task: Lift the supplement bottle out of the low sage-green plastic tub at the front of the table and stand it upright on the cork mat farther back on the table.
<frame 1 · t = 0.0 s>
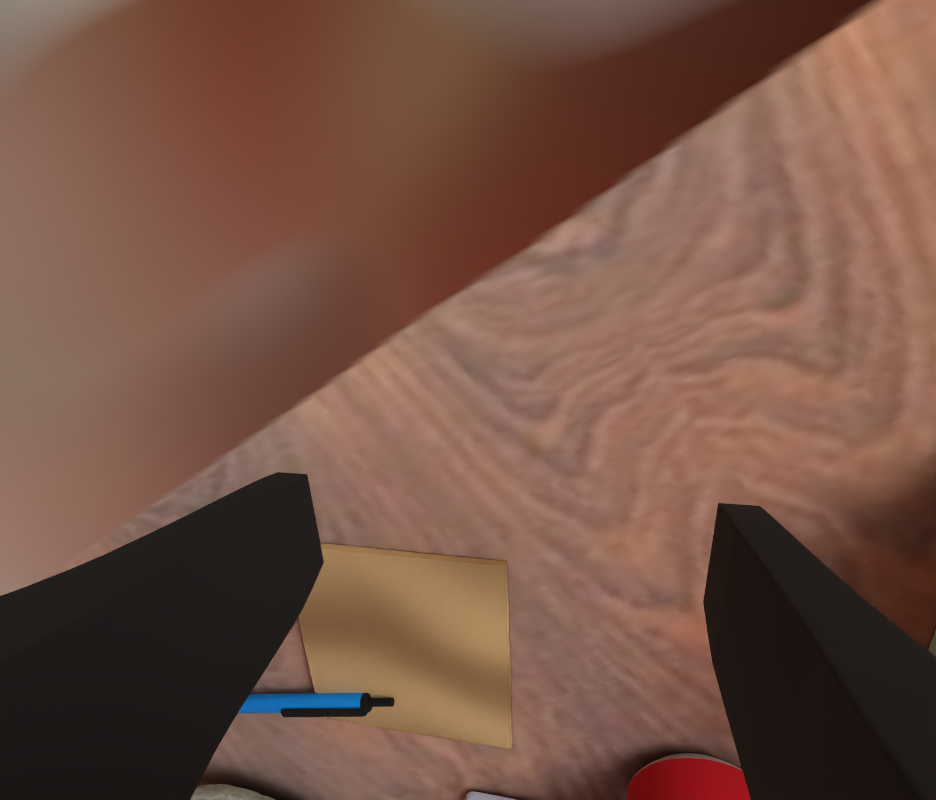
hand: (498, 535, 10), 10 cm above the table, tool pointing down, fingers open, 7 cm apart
pen: (237, 693, 30), on the table
cork mat: (404, 644, 26), on the table
beverage can: (695, 782, 26), on the table
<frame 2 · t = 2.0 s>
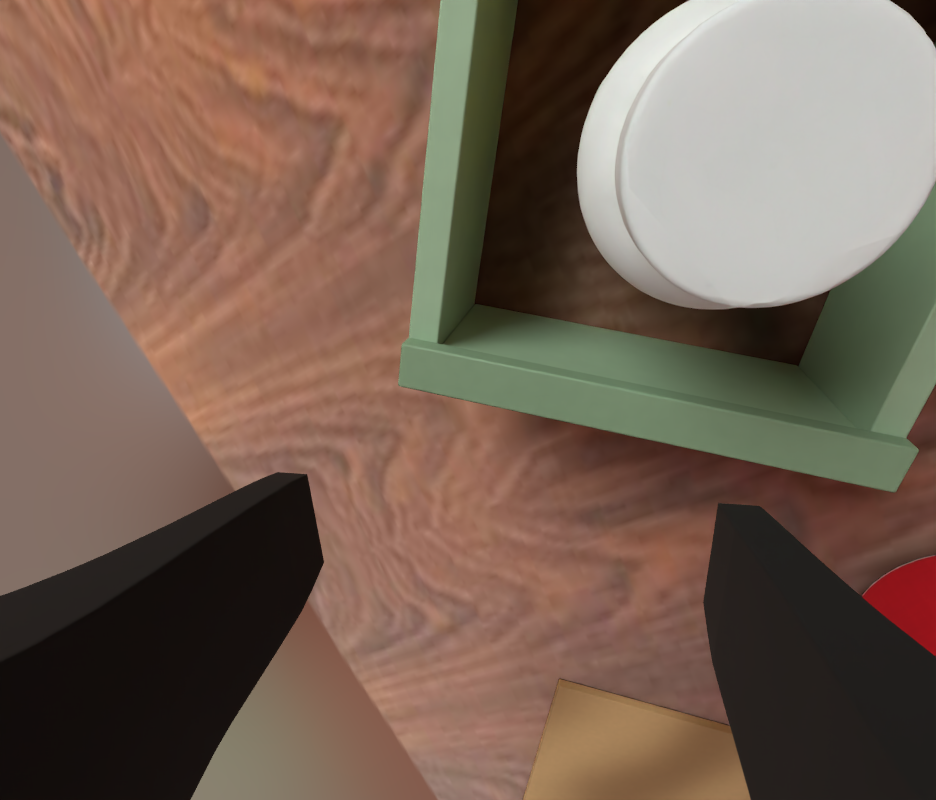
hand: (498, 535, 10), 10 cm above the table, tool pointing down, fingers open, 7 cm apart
supplement bottle: (676, 160, 16), resting in tub
cork mat: (651, 781, 26), on the table
tub: (677, 160, 16), on the table
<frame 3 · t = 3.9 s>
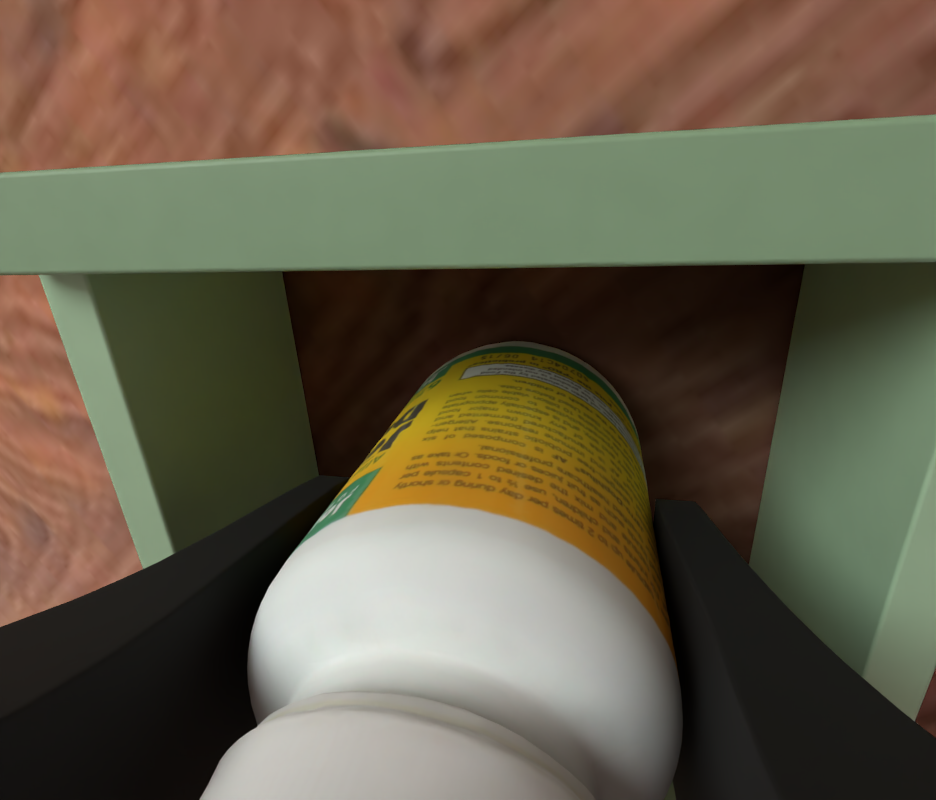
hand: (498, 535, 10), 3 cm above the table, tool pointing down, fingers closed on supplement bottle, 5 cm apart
supplement bottle: (521, 441, 13), resting in tub, touching gripper
tub: (520, 444, 13), on the table
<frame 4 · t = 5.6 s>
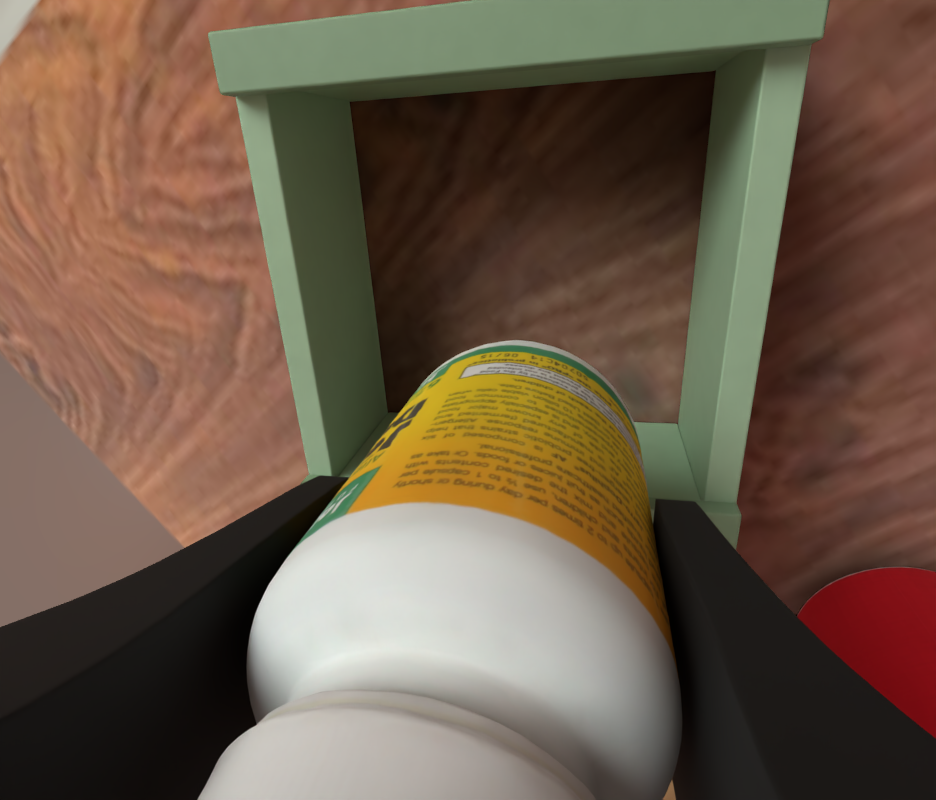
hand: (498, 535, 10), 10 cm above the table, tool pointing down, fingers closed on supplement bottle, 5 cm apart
supplement bottle: (520, 440, 13), point 7 cm above the table, touching gripper
tub: (523, 271, 18), on the table
beverage can: (876, 616, 21), on the table
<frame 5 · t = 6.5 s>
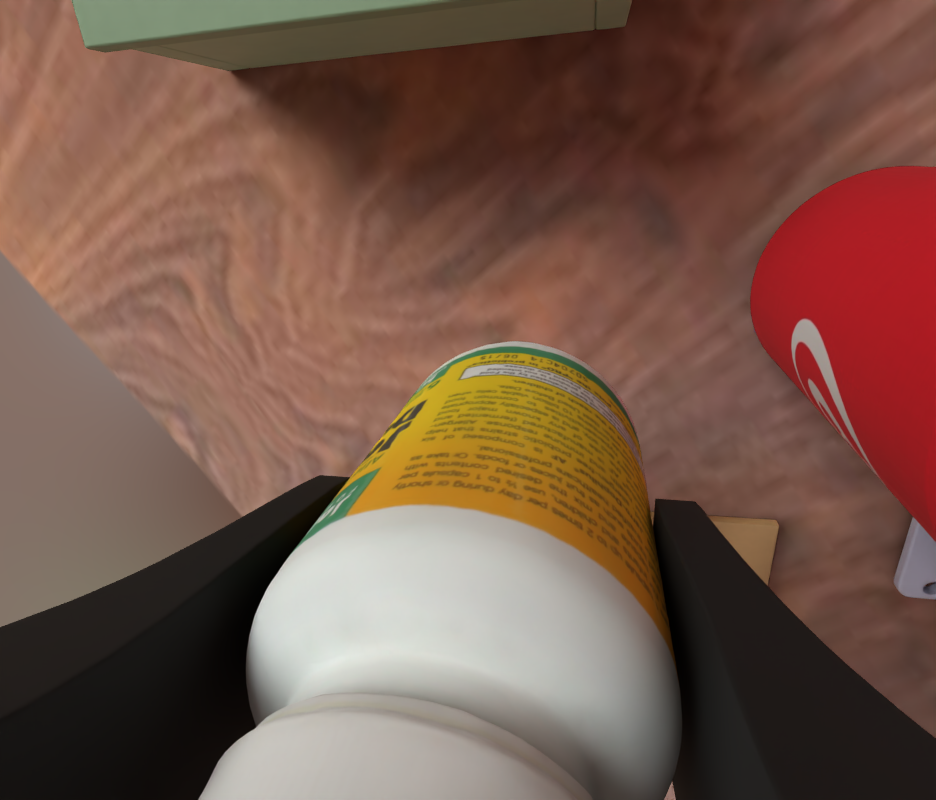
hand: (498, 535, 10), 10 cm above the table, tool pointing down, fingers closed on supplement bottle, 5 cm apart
supplement bottle: (520, 441, 13), point 7 cm above the table, touching gripper
cork mat: (611, 610, 23), on the table
beverage can: (857, 278, 16), on the table
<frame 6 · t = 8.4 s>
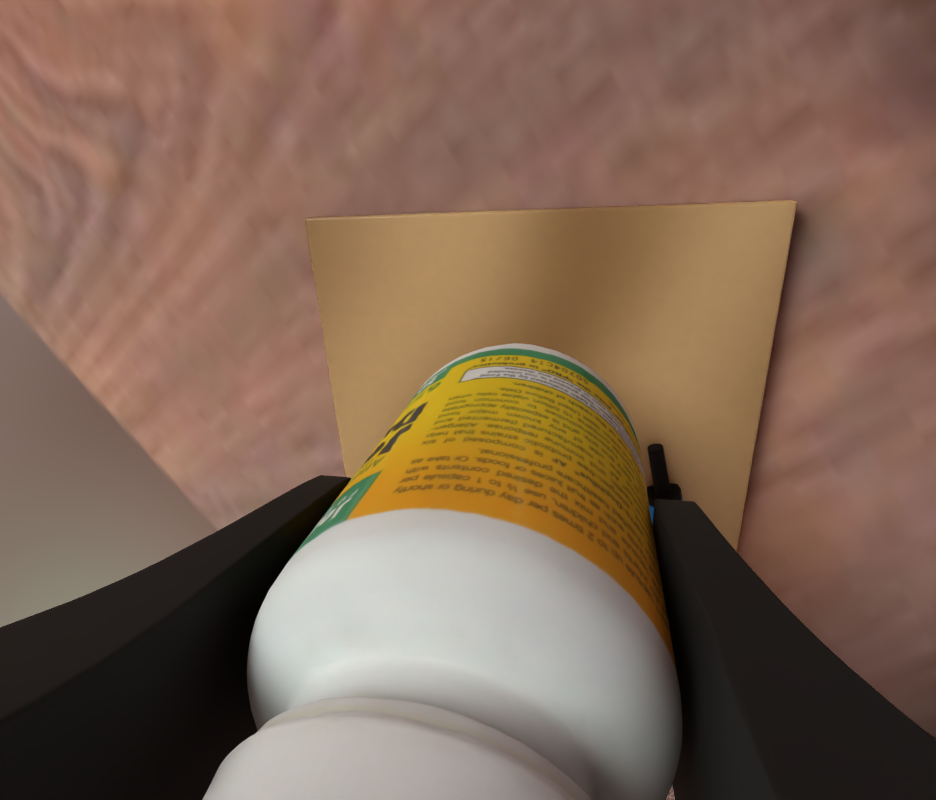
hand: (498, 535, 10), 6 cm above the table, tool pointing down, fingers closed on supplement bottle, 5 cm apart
supplement bottle: (520, 443, 13), point 2 cm above the table, touching gripper
pen: (698, 699, 18), on the table
cork mat: (531, 406, 15), on the table
when the fingers open (4 cm above the table, at t = 9.6 s): supplement bottle stays where it is, resting on cork mat.
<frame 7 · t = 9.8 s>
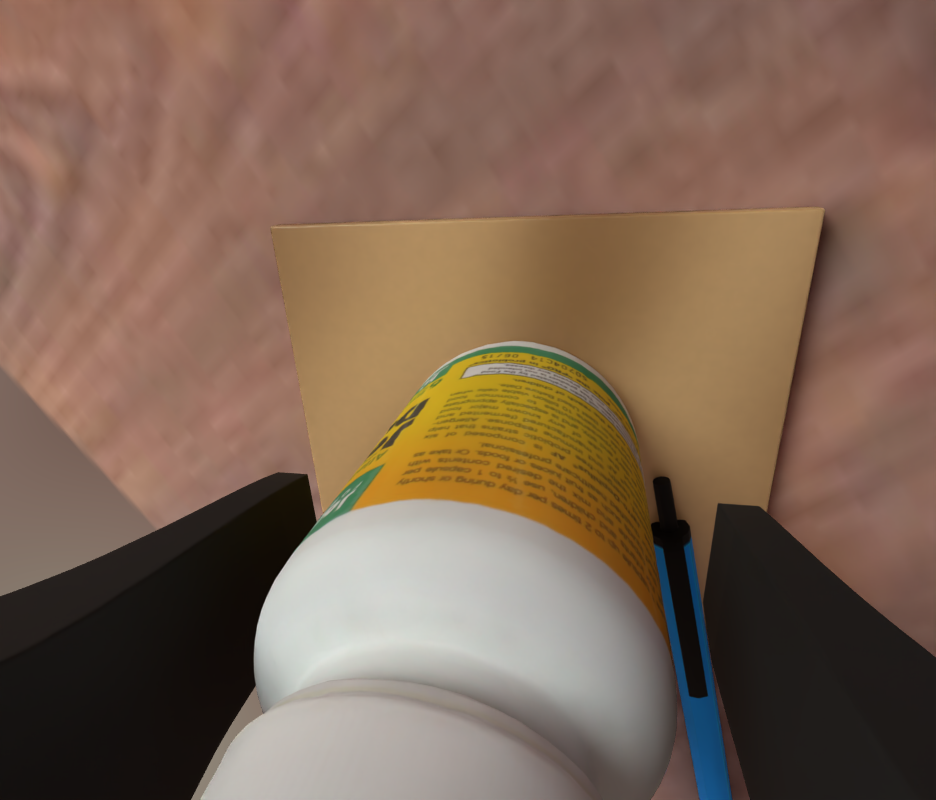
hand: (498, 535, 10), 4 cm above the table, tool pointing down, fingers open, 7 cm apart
supplement bottle: (521, 439, 13), resting on cork mat
pen: (706, 747, 16), on the table
cork mat: (523, 433, 13), on the table
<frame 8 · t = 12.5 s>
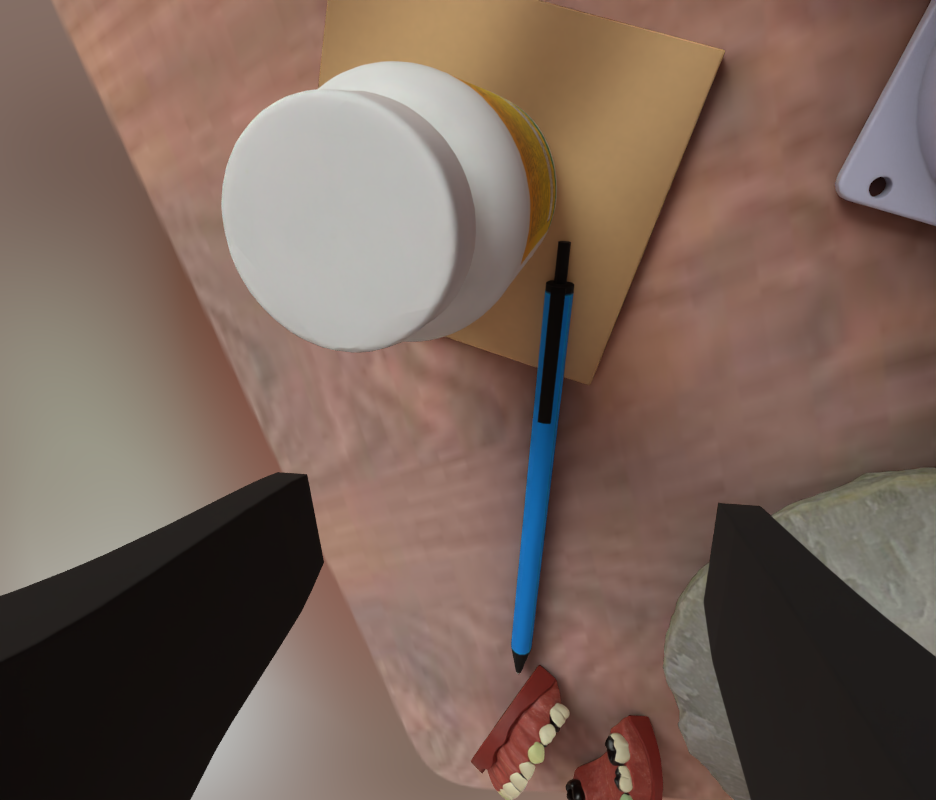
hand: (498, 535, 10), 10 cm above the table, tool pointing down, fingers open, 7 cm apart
supplement bottle: (474, 189, 17), resting on cork mat
pen: (539, 490, 22), on the table
cork mat: (477, 187, 17), on the table
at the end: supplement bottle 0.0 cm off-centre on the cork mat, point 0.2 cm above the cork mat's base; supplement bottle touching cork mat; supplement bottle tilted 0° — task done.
